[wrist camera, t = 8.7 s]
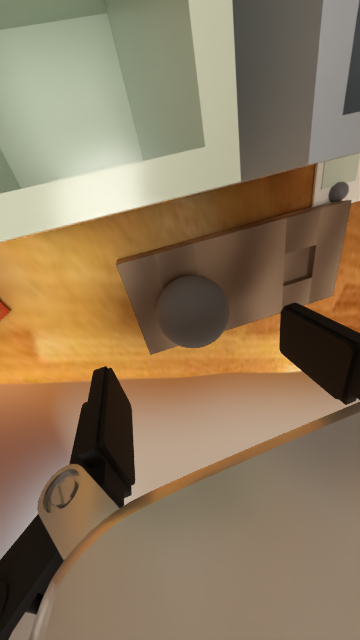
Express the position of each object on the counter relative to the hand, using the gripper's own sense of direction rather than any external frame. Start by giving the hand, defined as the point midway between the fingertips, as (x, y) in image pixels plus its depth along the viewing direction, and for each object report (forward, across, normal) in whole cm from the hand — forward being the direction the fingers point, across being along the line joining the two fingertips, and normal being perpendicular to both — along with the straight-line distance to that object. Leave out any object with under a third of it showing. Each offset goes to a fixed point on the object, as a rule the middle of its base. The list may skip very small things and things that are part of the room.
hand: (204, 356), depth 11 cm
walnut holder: (+8, -6, -1) cm, 10 cm away
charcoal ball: (+4, -1, 0) cm, 4 cm away
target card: (+7, -17, -7) cm, 20 cm away
